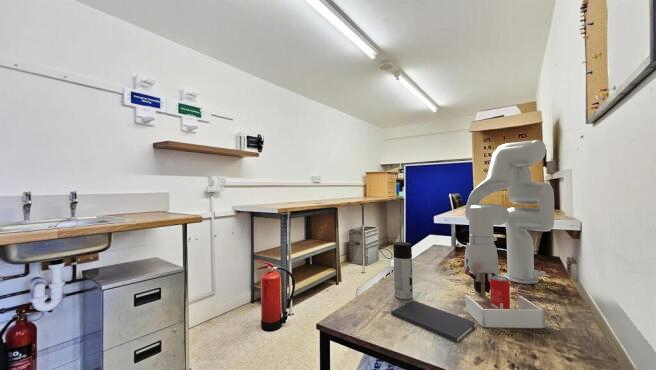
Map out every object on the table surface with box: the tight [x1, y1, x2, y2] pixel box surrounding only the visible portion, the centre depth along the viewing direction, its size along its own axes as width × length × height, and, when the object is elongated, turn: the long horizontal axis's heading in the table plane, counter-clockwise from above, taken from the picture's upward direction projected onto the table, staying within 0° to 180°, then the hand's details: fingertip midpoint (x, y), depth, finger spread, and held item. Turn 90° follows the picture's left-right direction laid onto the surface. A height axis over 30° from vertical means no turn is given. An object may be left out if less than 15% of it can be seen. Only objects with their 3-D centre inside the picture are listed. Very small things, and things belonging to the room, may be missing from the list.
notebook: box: [390, 300, 476, 343], centre depth 84 cm, size 13×2×21 cm
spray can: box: [393, 241, 414, 301], centre depth 102 cm, size 7×7×20 cm
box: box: [465, 294, 546, 329], centre depth 84 cm, size 18×11×5 cm, turn 87°
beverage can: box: [489, 275, 511, 309], centre depth 86 cm, size 5×5×12 cm
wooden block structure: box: [471, 273, 491, 309], centre depth 95 cm, size 12×9×11 cm
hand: (482, 291), depth 97 cm, fingers closed on wooden block structure
